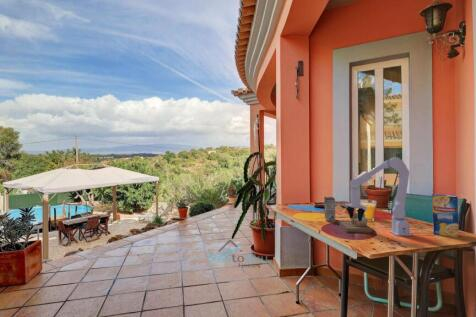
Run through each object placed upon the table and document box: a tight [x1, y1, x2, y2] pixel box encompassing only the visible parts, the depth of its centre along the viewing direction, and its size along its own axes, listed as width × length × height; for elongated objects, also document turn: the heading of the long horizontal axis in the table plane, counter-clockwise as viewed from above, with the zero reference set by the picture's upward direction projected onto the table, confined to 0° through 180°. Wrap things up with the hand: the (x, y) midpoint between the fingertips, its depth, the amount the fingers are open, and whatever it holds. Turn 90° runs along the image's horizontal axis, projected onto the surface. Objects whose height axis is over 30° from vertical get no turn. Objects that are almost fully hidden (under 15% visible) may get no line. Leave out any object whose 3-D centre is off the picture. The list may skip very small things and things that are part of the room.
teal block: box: [354, 212, 366, 218], centre depth 160 cm, size 4×5×2 cm
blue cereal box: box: [431, 193, 460, 238], centre depth 143 cm, size 7×11×22 cm, turn 54°
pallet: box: [350, 216, 368, 226], centre depth 160 cm, size 5×8×4 cm, turn 112°
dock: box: [338, 219, 373, 234], centre depth 160 cm, size 20×14×2 cm
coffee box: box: [323, 196, 336, 222], centre depth 183 cm, size 9×6×16 cm
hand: (355, 219), depth 159 cm, fingers closed on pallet, 5 cm apart
